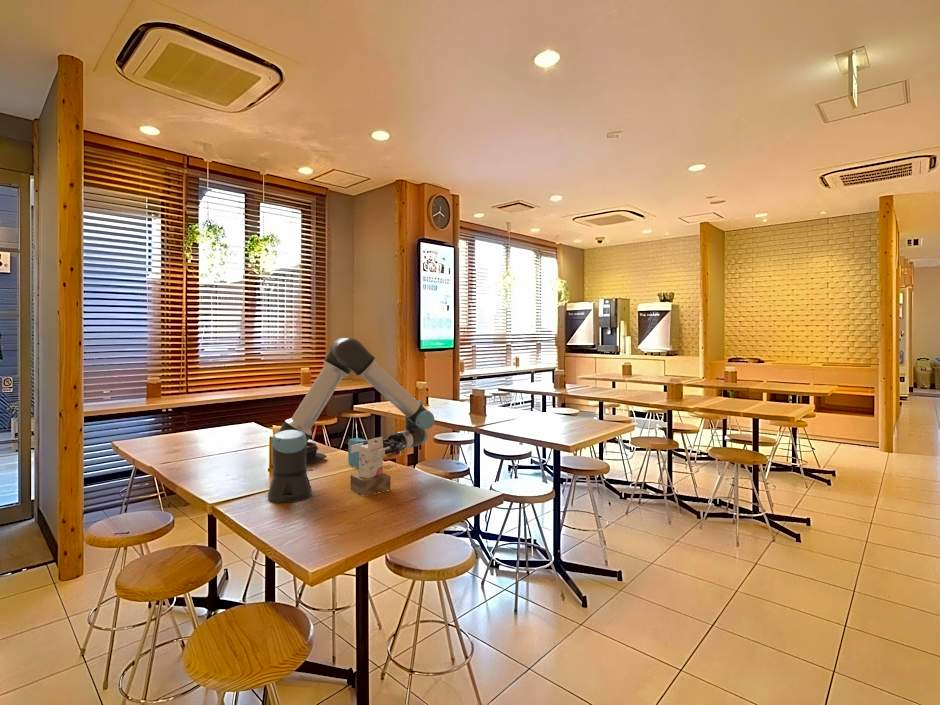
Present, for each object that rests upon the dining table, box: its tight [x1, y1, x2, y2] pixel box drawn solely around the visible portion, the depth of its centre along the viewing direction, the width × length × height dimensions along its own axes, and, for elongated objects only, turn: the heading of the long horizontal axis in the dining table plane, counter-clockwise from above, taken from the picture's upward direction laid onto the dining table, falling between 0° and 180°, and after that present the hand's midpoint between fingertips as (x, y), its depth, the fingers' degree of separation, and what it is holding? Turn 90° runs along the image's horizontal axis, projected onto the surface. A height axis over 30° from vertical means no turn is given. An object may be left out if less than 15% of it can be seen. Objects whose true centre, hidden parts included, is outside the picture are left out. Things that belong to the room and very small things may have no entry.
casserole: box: [306, 441, 327, 465], centre depth 232 cm, size 25×19×8 cm
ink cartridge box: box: [358, 436, 384, 479], centre depth 191 cm, size 9×5×15 cm, turn 148°
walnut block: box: [350, 472, 391, 497], centre depth 191 cm, size 11×11×6 cm
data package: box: [347, 437, 368, 469], centre depth 226 cm, size 12×4×12 cm, turn 44°
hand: (364, 451), depth 188 cm, fingers open, 13 cm apart
